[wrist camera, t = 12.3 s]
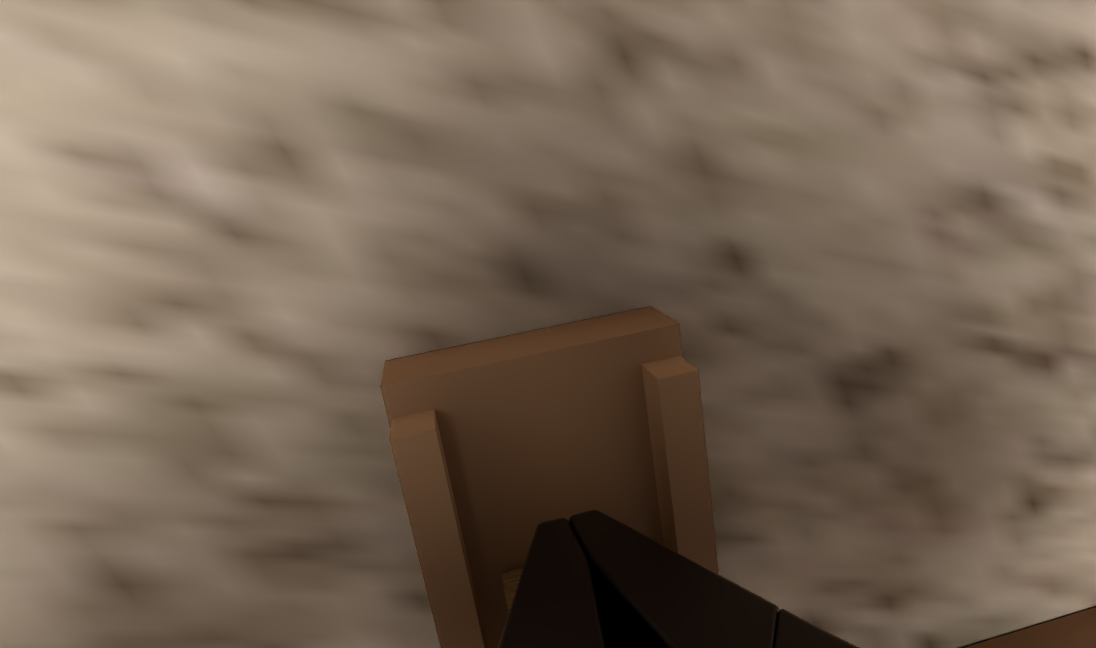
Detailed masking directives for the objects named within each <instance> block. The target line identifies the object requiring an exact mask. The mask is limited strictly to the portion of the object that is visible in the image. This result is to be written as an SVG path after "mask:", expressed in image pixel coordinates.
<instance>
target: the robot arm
mask: <svg viewBox="0 0 1096 648" xmlns="http://www.w3.org/2000/svg"><path fill="white" fill-rule="evenodd" d="M498 648H859V647H857V646H855V645H853V644H850V643H848V642H846V641H844V640H842V639H840V638H839V637H837V636H835V635H833V634H831V633H829V632H827V631H825V630H823V629H821V628H819V627H817V626H815V625H813V624H811V623H809V622H807V621H805V620H803V619H801V618H799V617H797V616H796V615H794V614H792V613H790V612H788V611H786V610H784V609H781V610H780V611H779V608H778V606H776V605H775V604H773V603H771V602H769V601H767V600H765V599H763V598H761V597H760V596H758V595H756V594H754V593H752V592H750V591H748V590H746V589H745V588H743V587H741V586H739V585H737V584H735V583H733V582H732V581H730V580H728V579H726V578H724V577H722V576H720V575H718V574H717V573H715V572H713V571H711V570H709V569H707V568H705V567H703V566H702V565H700V564H698V563H696V562H694V561H692V560H690V559H689V558H687V557H685V556H683V555H681V554H679V553H677V552H675V551H674V550H672V549H670V548H668V547H666V546H664V545H662V544H660V543H659V542H657V541H655V540H653V539H651V538H649V537H647V536H646V535H644V534H642V533H640V532H638V531H636V530H634V529H632V528H631V527H629V526H627V525H625V524H623V523H621V522H619V521H617V520H616V519H614V518H612V517H610V516H608V515H606V514H604V513H603V512H601V511H598V510H590V511H586V512H582V513H579V514H575V515H572V516H571V517H570V518H569V522H568V520H567V519H566V518H559V519H555V520H551V521H547V522H543V523H540V524H539V525H538V526H537V528H536V531H535V534H534V537H533V540H532V543H531V546H530V549H529V553H528V556H527V559H526V562H525V565H524V568H523V571H522V574H521V577H520V580H519V583H518V586H517V589H516V592H515V595H514V599H513V602H512V605H511V608H510V611H509V614H508V617H507V620H506V623H505V626H504V629H503V632H502V635H501V638H500V641H499V645H498Z"/></svg>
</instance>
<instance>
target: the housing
mask: <svg viewBox="0 0 1096 648" xmlns="http://www.w3.org/2000/svg"><path fill="white" fill-rule="evenodd" d="M380 387H381V391H382V395H383V399H384V403H385V407H386V411H387V415H388V419H389V424H390V428H391V431H390V443H391V447H392V451H393V455H394V459H395V463H396V467H397V471H398V475H399V479H400V483H401V487H402V491H403V496H404V500H405V504H406V508H407V512H408V516H409V520H410V524H411V528H412V532H413V536H414V540H415V544H416V548H417V552H418V556H419V560H420V565H421V569H422V573H423V577H424V581H425V585H426V589H427V593H428V597H429V601H430V605H431V609H432V613H433V617H434V621H435V625H436V630H437V634H438V638H439V642H440V646H441V648H498V645H499V641H500V638H501V635H502V632H503V629H504V626H505V623H506V620H507V617H508V614H509V612H508V607H507V602H506V597H505V591H504V586H503V581H502V576H501V573H505V572H509V571H513V570H516V569H520V568H524V565H525V562H526V559H527V556H528V553H529V549H530V546H531V543H532V540H533V537H534V534H535V531H536V528H537V526H538V525H539V524H540V523H543V522H547V521H551V520H555V519H559V518H566V519H567V520H568V522H569V518H570V517H571V516H572V515H575V514H579V513H582V512H586V511H590V510H598V511H601V512H603V513H604V514H606V515H608V516H610V517H612V518H614V519H616V520H617V521H619V522H621V523H623V524H625V525H627V526H629V527H631V528H632V529H634V530H636V531H638V532H640V533H642V534H644V535H646V536H647V537H649V538H651V539H653V540H655V541H657V542H659V543H660V544H662V545H664V546H666V547H668V548H670V549H672V550H674V551H675V552H677V553H679V554H681V555H683V556H685V557H687V558H689V559H690V560H692V561H694V562H696V563H698V564H700V565H702V566H703V567H705V568H707V569H709V570H711V571H713V572H715V573H717V574H718V564H717V554H716V544H715V534H714V524H713V514H712V503H711V493H710V483H709V473H708V463H707V453H706V443H705V433H704V423H703V413H702V402H701V392H700V382H699V372H698V370H697V369H696V368H695V367H693V366H692V365H691V364H689V363H688V362H687V361H685V360H684V359H683V357H682V348H681V338H680V329H679V323H677V322H676V321H674V320H672V319H671V318H669V317H668V316H666V315H664V314H663V313H661V312H660V311H658V310H656V309H655V308H653V307H646V308H641V309H636V310H631V311H627V312H622V313H617V314H612V315H607V316H602V317H597V318H593V319H588V320H583V321H578V322H573V323H568V324H563V325H558V326H554V327H549V328H544V329H539V330H534V331H529V332H524V333H519V334H515V335H510V336H505V337H500V338H495V339H490V340H485V341H481V342H476V343H471V344H466V345H461V346H456V347H451V348H446V349H442V350H437V351H432V352H427V353H422V354H417V355H412V356H407V357H403V358H398V359H393V360H388V361H385V365H384V370H383V376H382V381H381V386H380ZM718 575H719V574H718ZM965 648H1096V607H1095V608H1092V609H1088V610H1085V611H1082V612H1079V613H1075V614H1072V615H1069V616H1066V617H1062V618H1059V619H1056V620H1053V621H1049V622H1046V623H1043V624H1040V625H1036V626H1033V627H1030V628H1026V629H1023V630H1020V631H1017V632H1013V633H1010V634H1007V635H1004V636H1000V637H997V638H994V639H991V640H987V641H984V642H981V643H978V644H974V645H971V646H968V647H965Z"/></svg>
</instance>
